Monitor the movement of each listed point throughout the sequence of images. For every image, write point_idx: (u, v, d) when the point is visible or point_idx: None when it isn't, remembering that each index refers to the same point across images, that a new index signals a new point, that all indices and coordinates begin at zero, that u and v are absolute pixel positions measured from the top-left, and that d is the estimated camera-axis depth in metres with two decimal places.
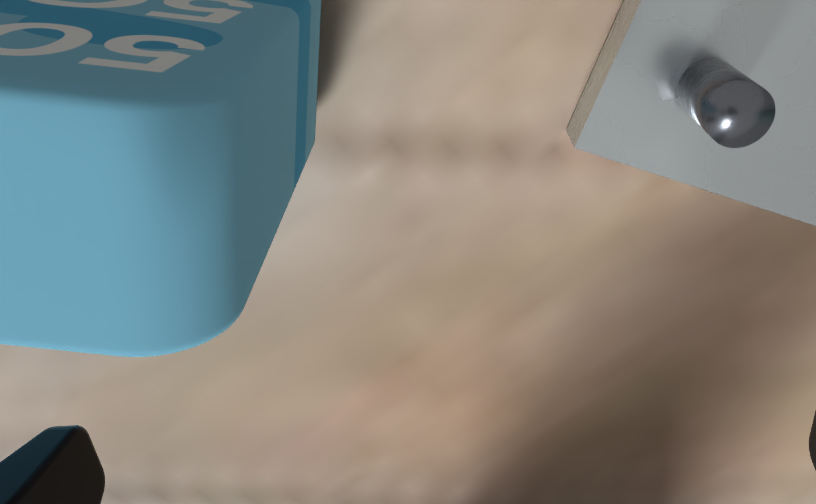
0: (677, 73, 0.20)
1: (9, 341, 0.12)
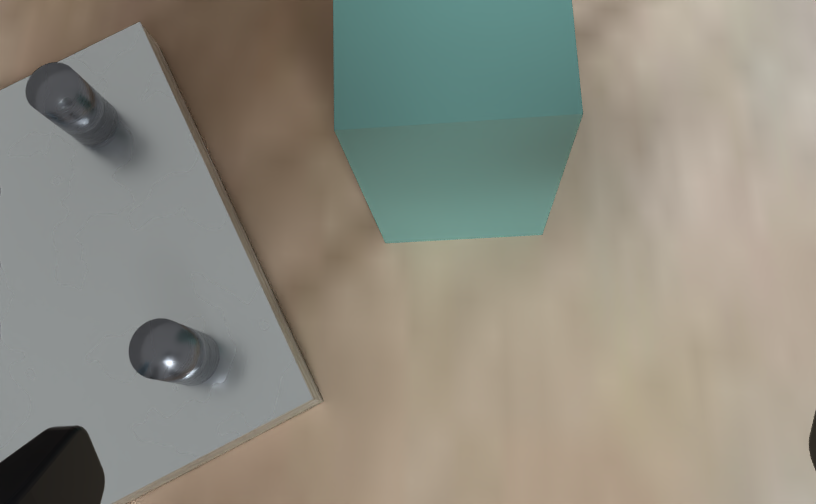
0: None
1: None
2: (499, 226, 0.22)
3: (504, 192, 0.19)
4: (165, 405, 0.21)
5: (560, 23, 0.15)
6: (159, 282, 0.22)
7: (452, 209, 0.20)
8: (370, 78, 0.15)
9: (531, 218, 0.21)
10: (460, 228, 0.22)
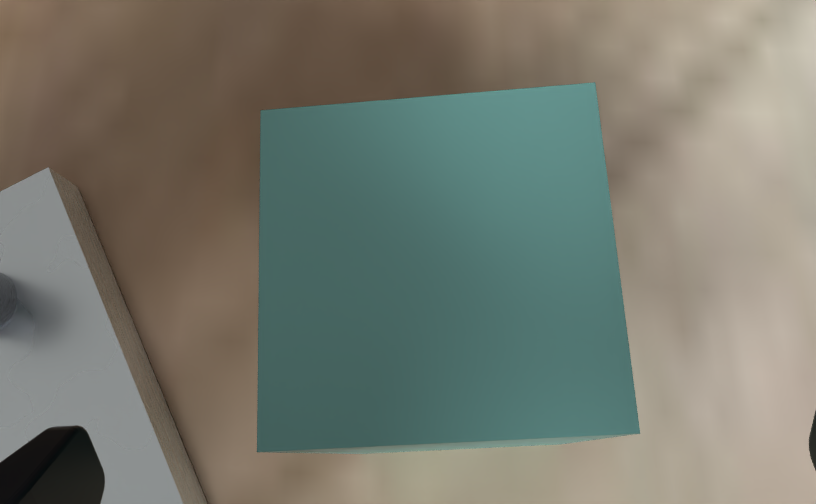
0: None
1: None
2: None
3: None
4: None
5: (600, 280, 0.10)
6: None
7: (443, 448, 0.15)
8: (312, 365, 0.10)
9: None
10: None
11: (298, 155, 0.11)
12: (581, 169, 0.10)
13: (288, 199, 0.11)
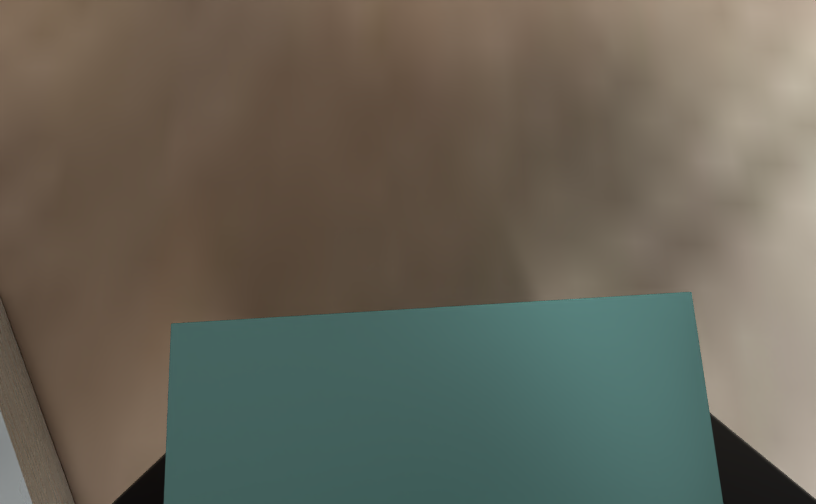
0: None
1: None
2: None
3: None
4: None
5: None
6: None
7: None
8: None
9: None
10: None
11: (227, 401, 0.07)
12: (674, 442, 0.07)
13: (209, 477, 0.07)
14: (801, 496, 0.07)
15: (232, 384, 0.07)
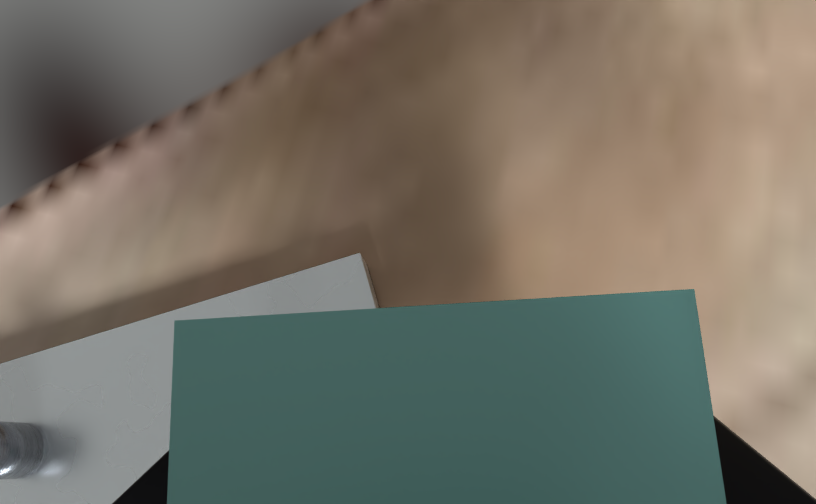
0: None
1: None
2: None
3: None
4: None
5: None
6: None
7: None
8: None
9: None
10: None
11: (230, 398, 0.07)
12: (676, 438, 0.07)
13: (212, 473, 0.07)
14: (802, 497, 0.07)
15: (235, 381, 0.07)
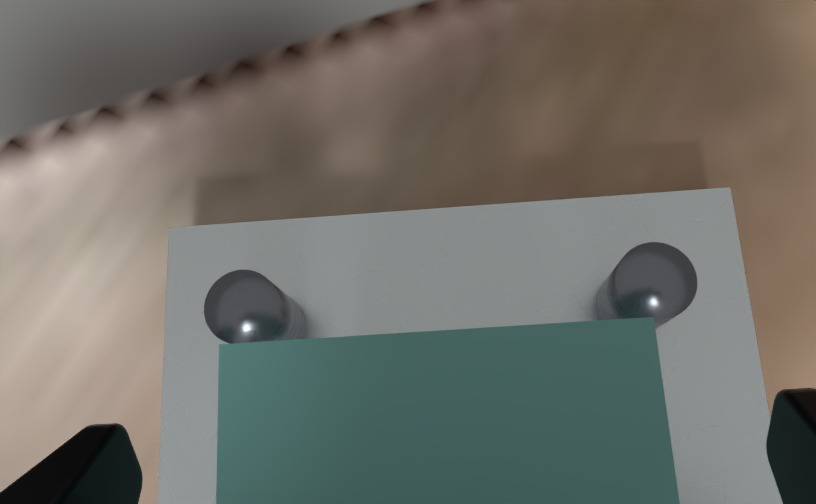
0: None
1: None
2: None
3: None
4: None
5: None
6: None
7: None
8: None
9: None
10: None
11: (267, 409, 0.08)
12: (638, 441, 0.08)
13: (253, 473, 0.08)
14: None
15: (271, 395, 0.08)
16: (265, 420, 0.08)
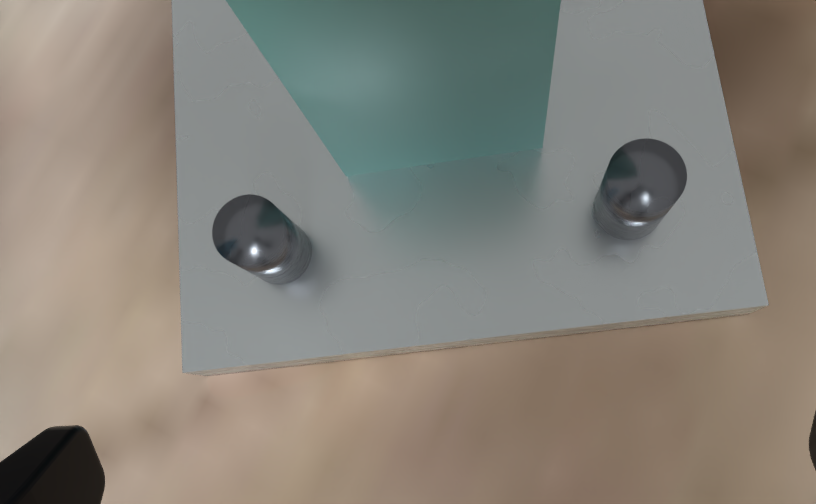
0: None
1: None
2: (485, 137, 0.17)
3: (480, 77, 0.14)
4: (580, 249, 0.17)
5: None
6: (607, 107, 0.18)
7: (417, 112, 0.15)
8: None
9: (524, 121, 0.16)
10: (435, 145, 0.17)
11: None
12: None
13: None
14: None
15: None
16: None
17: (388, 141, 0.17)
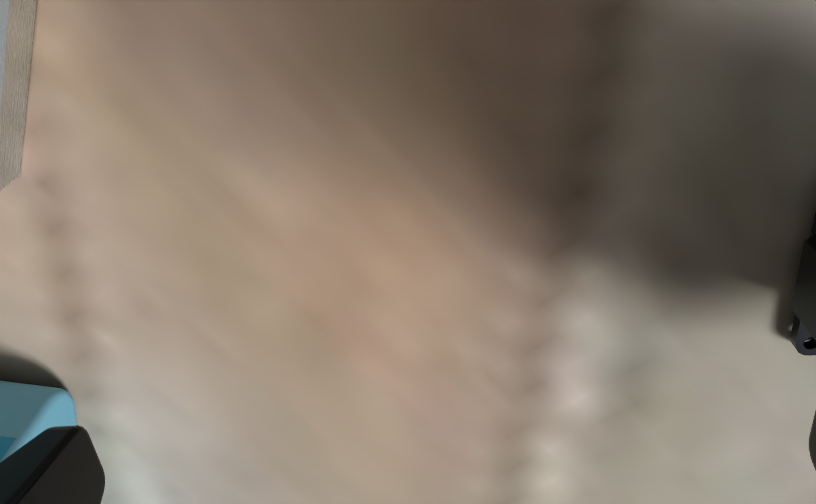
0: None
1: None
2: None
3: None
4: None
5: None
6: None
7: None
8: None
9: None
10: None
11: None
12: None
13: None
14: None
15: None
16: None
17: None
